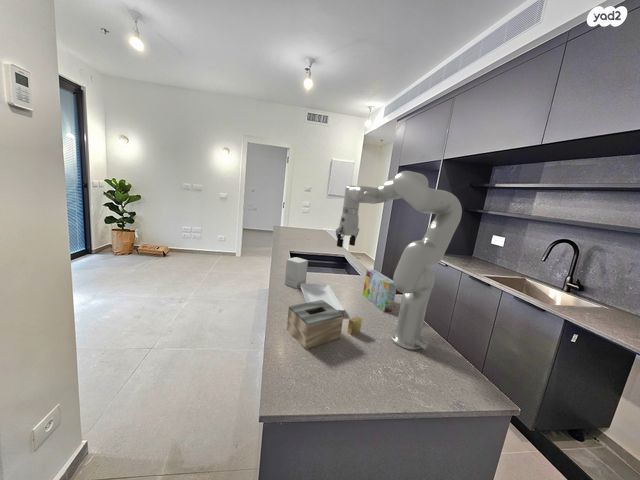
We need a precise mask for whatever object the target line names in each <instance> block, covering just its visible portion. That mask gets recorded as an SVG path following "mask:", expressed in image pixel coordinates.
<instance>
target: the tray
mask: <svg viewBox="0 0 640 480" xmlns="http://www.w3.org/2000/svg"><path fill="white" fill-rule="evenodd" d="M300 286H301V287H300V288H301V291H302V294H303V298H304V300H305V301H306V302H305V303H308V302H313V301H319V300H323V301H325V302H326V303H328V304H329V305H330V306H332V307H333V308H335V309H336V310H338V311H339V312H340V313H343V312H345V311H346V309H345V307H344V306H343V304H342V303H341V301H340V300H339V298H338V296H336V294H335V292H334V291H333V289H332V287H331V286H330V285H329V284H327V283H325V284H322V283H320V284H319V283H306V284H302V283H301V284H300Z"/></svg>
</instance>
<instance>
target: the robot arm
mask: <svg viewBox="0 0 640 480" xmlns="http://www.w3.org/2000/svg"><path fill="white" fill-rule="evenodd" d="M383 184H384V185H383V186H378V187H373V186H372V187H371V186H367V185H366V186H363V185H358V186H357V185H347V186H346V187H345V190H344V198H343V206H342V213H341V216H340V220H339V224H338V228H336V229H335V236H336V239H337V240H336V247H338V248H343V246H344V237H345V236H348V237H349V241H348V242H349V243H348V244H349V245H350V246H356V239H357V236H358V235H359V232H360V228H359V221H360V219H359V209H360V204H372V205H373V204H382V203H383V204H384V203H387V202H391V201H394V200H399V199H400V200H401V199H403V200H404V201H405V202H406V203H407V204H408V205H410V206H411V207H412V208H413V209H414V210H415V211H416V212H417V211H418V212H420V213H421V214H425V215H427V214H428V215H435V217H434V219H433V220H432V221H431V223H430V224H429V226H428V227H427V230H426V232H425V234H424V237H423V238H422V239H420V240H413V241H411V242H410V243H408V245H406V246H405V248H404V250H403V252H402V254H401V256H400V259H399V260H398V263H397V266H396V267H395V270H394V274H393V278H392V280H393V283H394V286H395V288H396V291H398V292H399V293H401V294H402V296H401V299H400V306H399V311H398V317H397V323H396V328H395V329H394V330H393V331H391V333H390V338H391V341H392V342H393V343H395V344H396V345H397V346H399V347H401V348H404V349H405V350H406V349H407V350H413V351H414V350H415V351H417V350H420V349H423V350H424V351H426V350H428V348H429V344H430V343H429V342H428V341H426V340H424V334H422V330H423V328H424V327H423V326H424V322H425V318H426V317H425V316H426V313H427V307H428V303H429V299H430V296H431V293H432V291H433V287H434V285H435V280H436V276H435V273H434V271H433V270H432V268H431V266H436V265H437V264H439V263H441V261H442V260H443V257H444V256H445V253H446V251H447V249H448V247H449V244H451V241H452V238H453V236H454V234H455V232H456V230H457V228H458V226H459V224H460V222H461V219H462V213H463V208H462V204H461V202H460V200H459V198H458V197H457V196H456V195H454V194H453V193H452V192H449V191H447V190H442V189H437V188H436V189H435V188H431V187H430V186H429V180H428V178H427V177H426V175H424V174H422V173H419V172H415V171H411V170H403V171H400V172H398V173H397V174H396V175H395V176H394V177H393V178H389V179H387V180H386V181H385V182H384V183H383ZM349 245H348V246H349Z"/></svg>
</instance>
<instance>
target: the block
mask: <svg viewBox="0 0 640 480" xmlns="http://www.w3.org/2000/svg"><path fill="white" fill-rule="evenodd" d="M362 322H363V318H361V317H359V316H356V317H352V318H349V320H348V327H347V334H349V335H350V336H352V335H356V334H359V333H361V329H362V328H361V327H362Z"/></svg>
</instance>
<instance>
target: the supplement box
mask: <svg viewBox="0 0 640 480" xmlns="http://www.w3.org/2000/svg"><path fill="white" fill-rule="evenodd" d="M308 265H309V260H307V259H304V258H301V257H297V256H296V257H295V256H294V257H291V258H287V259H286V265H285V274H284V275H285V276H284V285H285V286H287V287H291V288H293V289H299V288H301V286H300V284H301V283H302V284H307V274H308V273H307V272H308Z"/></svg>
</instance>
